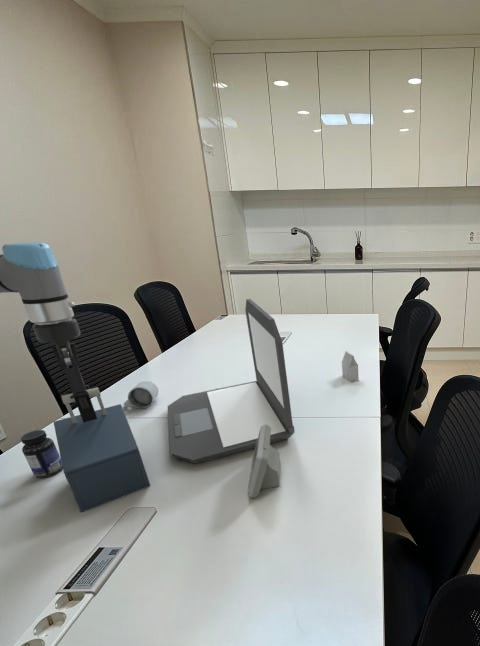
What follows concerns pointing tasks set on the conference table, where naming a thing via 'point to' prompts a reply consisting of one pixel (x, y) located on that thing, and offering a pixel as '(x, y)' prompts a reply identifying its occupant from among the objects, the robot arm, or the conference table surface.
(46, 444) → the pill bottle
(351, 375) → the grey house-shaped block
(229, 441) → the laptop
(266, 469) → the digital clock
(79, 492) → the dark blue box
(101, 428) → the lid
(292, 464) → the conference table surface
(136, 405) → the ceramic mug
